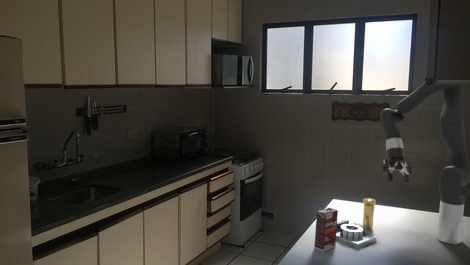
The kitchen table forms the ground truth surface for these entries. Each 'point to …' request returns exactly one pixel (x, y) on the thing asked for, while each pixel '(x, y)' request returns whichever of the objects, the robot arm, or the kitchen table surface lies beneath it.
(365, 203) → the bushing
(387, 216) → the kitchen table surface
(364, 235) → the jig
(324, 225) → the supplement box
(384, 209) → the kitchen table surface
